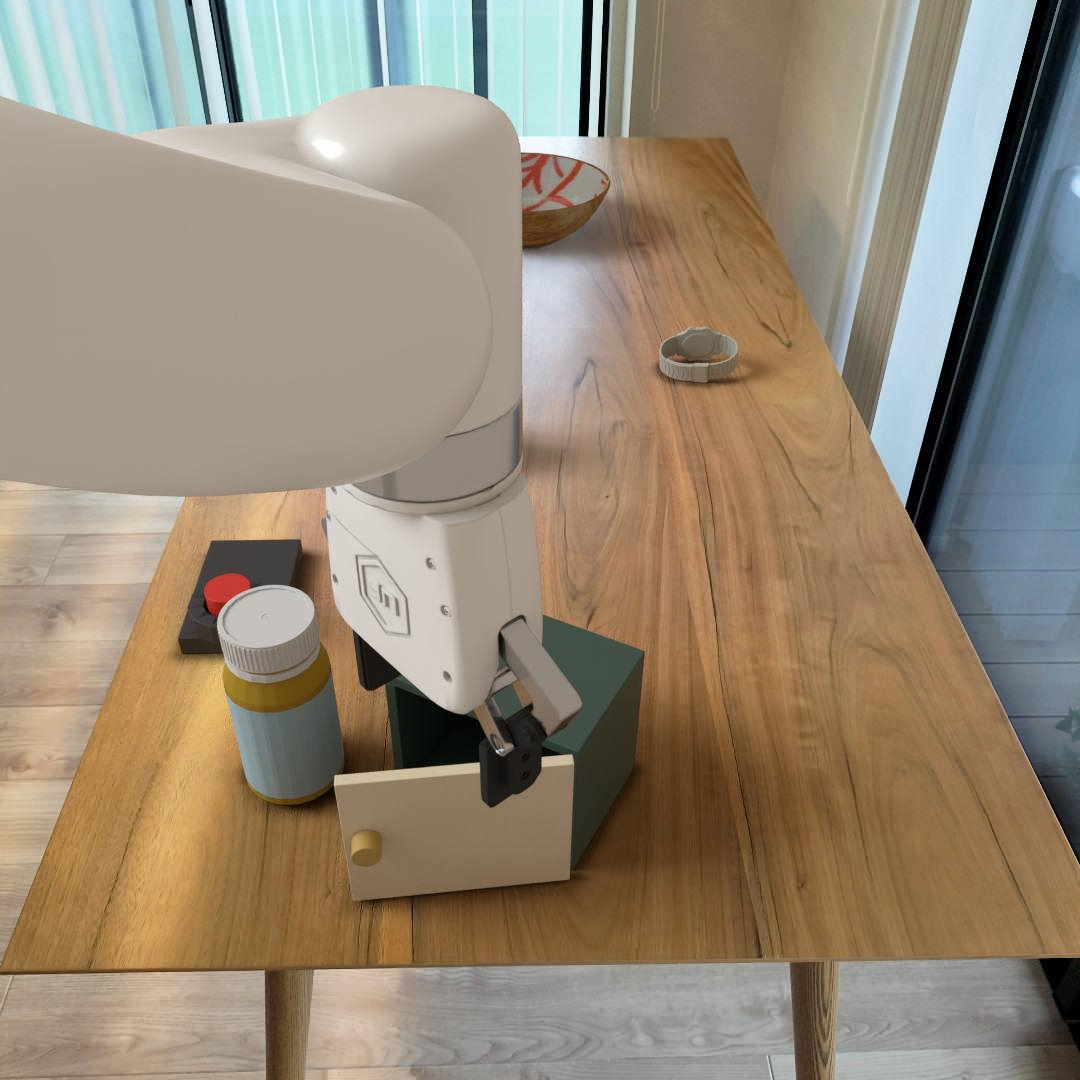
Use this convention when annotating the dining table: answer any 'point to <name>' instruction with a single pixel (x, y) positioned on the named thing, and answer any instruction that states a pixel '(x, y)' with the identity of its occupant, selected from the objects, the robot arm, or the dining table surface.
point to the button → (224, 591)
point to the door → (452, 830)
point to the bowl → (557, 196)
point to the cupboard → (591, 736)
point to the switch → (245, 558)
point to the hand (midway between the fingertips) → (447, 729)
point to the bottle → (280, 694)
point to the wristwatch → (698, 354)
